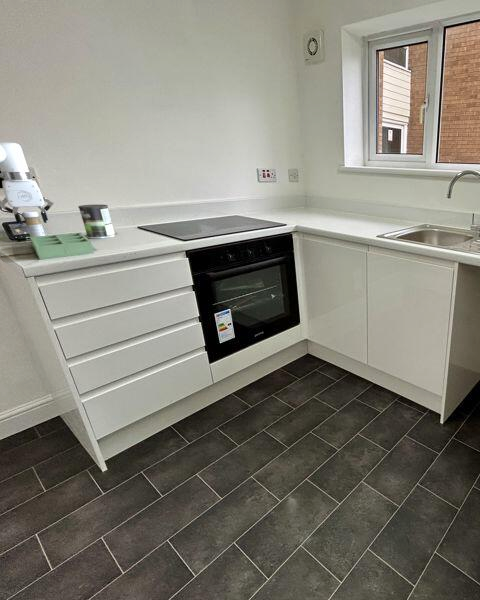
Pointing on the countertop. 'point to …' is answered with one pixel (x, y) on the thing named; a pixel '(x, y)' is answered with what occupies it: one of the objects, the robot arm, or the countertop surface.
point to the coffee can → (97, 221)
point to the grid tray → (61, 245)
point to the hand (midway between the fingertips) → (33, 222)
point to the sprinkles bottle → (33, 223)
